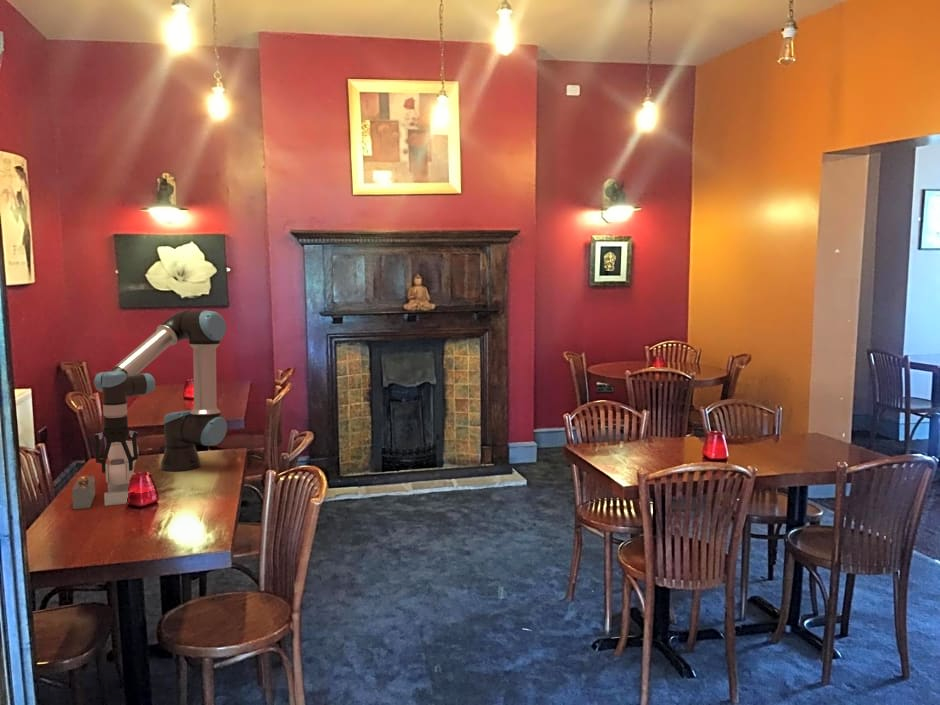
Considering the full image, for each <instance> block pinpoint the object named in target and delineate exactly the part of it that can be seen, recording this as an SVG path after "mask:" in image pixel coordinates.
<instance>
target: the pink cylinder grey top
mask: <svg viewBox="0 0 940 705" xmlns="http://www.w3.org/2000/svg"><path fill="white" fill-rule="evenodd" d="M108 479H109V482H108V484H109V485H122V484H126V483H127V469H126V462H124V459H113V460H110V461H109V462H108Z"/></svg>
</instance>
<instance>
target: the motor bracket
mask: <svg viewBox="0 0 940 705" xmlns="http://www.w3.org/2000/svg"><path fill="white" fill-rule="evenodd" d="M129 484H130V482H127V483H126V484H122V485H109V483H107V492H104V493H103V494H104V495H103V496H104V506H107V507H108V506H115V505H117V506H118V505H124V504H126V503H127V498H128V493H129V491H128V487H129ZM71 494H72V495H71V497H72V510H81V509H90V508H91V506H92V503H93V501H94V499H95V496H96V485H95V476H94V475H92V476H90V475H80V476H78V478H77V480H76V481H75V483H74V485H73V486H72V489H71ZM127 504H128V503H127ZM127 504H126V505H127Z"/></svg>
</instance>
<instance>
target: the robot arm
mask: <svg viewBox="0 0 940 705" xmlns="http://www.w3.org/2000/svg"><path fill="white" fill-rule="evenodd" d="M226 324H227V323H226V321H225V319H224V317H222V315H221V314H220V313H219V312H217V311H214V310H190V309H187V310H181V311H179V312H176V313H175V314H173V315H171V316H169V317H168V318H167V319H165V320H164V321H162V322H161V323H160V324H159V325H158V326H157V327H156V329H155V330H156V331H155V332H153V333H152V334H151V335H150V336H149V337H148V338H146V339H145V340H144V341H143V342H142V343H140V344H139V345H138V346H137V347H136V348H134V349H133V351H131V352H130V353H129V354H128V355H127V356H125V357H124V358H123V359H122V360H120V362H119V363H117V364H116V365H114V367H113V368H111V369H110V370H109V371H102V372H99V373H97V374H96V375H95V376H94V380H93V385H94V387H95V389H96V390H97V391H98V392H100V393H102V407H103V408H102V410H103V411H102V412H103V414H102V416H104V417H103V431H102V432H100V433H95V435H94V440H95V441H96V442H95V443H96V444H95V446H96V447H95V463H97V464H98V463H99V464H101V472H102V474H105V482H106V483H107V484H109V479H108V464H109V462H107V459H108V453H109V450H110V447H111V443H115V442H121V444H122V446H123V448H124V451H125V453H126V456H127V459H128V461H127V462H126V469H127V481H129V480H130V471H132V470H133V461H134V460H138V458H139V450H138V451H137V446H138V444H137V436H138V431H137V430H136V431H132V430H130V429H129V426H128V424H129V422H128V421H129V420H128V416H127V414H128V403H127V402H128V398H130V397H135V396H142V395H143V396H144V395H147V394H150V393H152V392H153V391H154V390H155V388H156V380H155V378H154V376H153V375H152V374H150V373H148V372H146V373H143V372H141V371H143V370H144V369H145V368H146V367H147V366H148V365H149V364H151V363H152V362H153V361H154V360H155V359H157V358H158V357H159V355H161V354H163V353H164V352H165V350H167V349H168V348H169V347H170V346H174V345H176V344H177V343H178V342H180V341H183V340H188V345H189V346H190V347H191V348H192V349H193V362H192V364H193V408H192V409H190V410H189V409H188V410H180V411H174V412H170V413H167V414H165V415H164V417H163V436H164V452H163V456H162V459H161V462H160V469H161V470H162V471H166V472H183V471H190V470H194V469H197V468H199V467H201V458H200V456H199V453H198V451H197V448H196V445H201V446H205V447H207V446H209V447H210V446H211V447H212V446H216V445H217V446H218V444H220V443H221V442H222V441H223V439H225V436H226V435H227V430H228V423H227V421H226V420H225V419H224V418H223V417H222V415H221V410H220V409H219V408H218V407H217V348H218V347H219V346H220V345H221V340H222V339H224V337H225V335H226V332H227V325H226ZM128 435H129V436H130V438H131V441H132V445H133V454H134V456H133V457H132V456H131V453H130V451H129V448H128V446H127V443H126V441H127V440H126V439H127V437H128ZM103 437H104V438H105V439H106V440H107V443H106V445H105V449H104V452H103V453H104V454H103V456H102V458H101V451H102V449H101V448H102V439H103Z"/></svg>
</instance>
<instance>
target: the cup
mask: <svg viewBox="0 0 940 705" xmlns="http://www.w3.org/2000/svg"><path fill="white" fill-rule="evenodd" d="M126 443H127V446H128V448H129V451H130V453H131V456H132V457H133V456H134V454H133V445H132V440H126ZM137 451H138V452H139V446H138V445H137ZM107 459H108V461H109V462H110V460H113V459H124V462H127V461H128V459H127V456H126V453H125V451H124V448H123V446H122V444H121V442H115V443H111V447H110V450H109V453H108V457H107ZM137 460H138V459H137ZM137 460H134V461H133V470H132V471H130V478H131V476H132V474H134V475H135V472H134V471H135V464H136V462H137ZM127 482H129V481H127Z"/></svg>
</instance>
